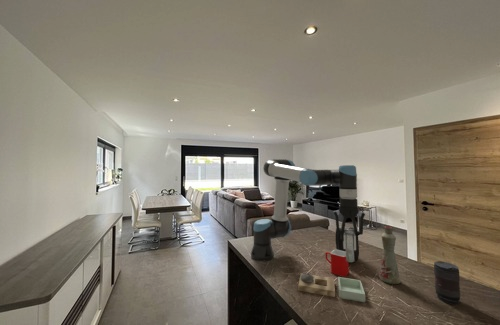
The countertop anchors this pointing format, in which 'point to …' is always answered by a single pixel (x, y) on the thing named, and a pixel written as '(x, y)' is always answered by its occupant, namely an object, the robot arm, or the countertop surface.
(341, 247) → the wheel rim
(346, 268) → the mug
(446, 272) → the camera lens
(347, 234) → the lock pin
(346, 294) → the tray
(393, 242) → the bottle
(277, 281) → the countertop surface
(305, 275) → the block
